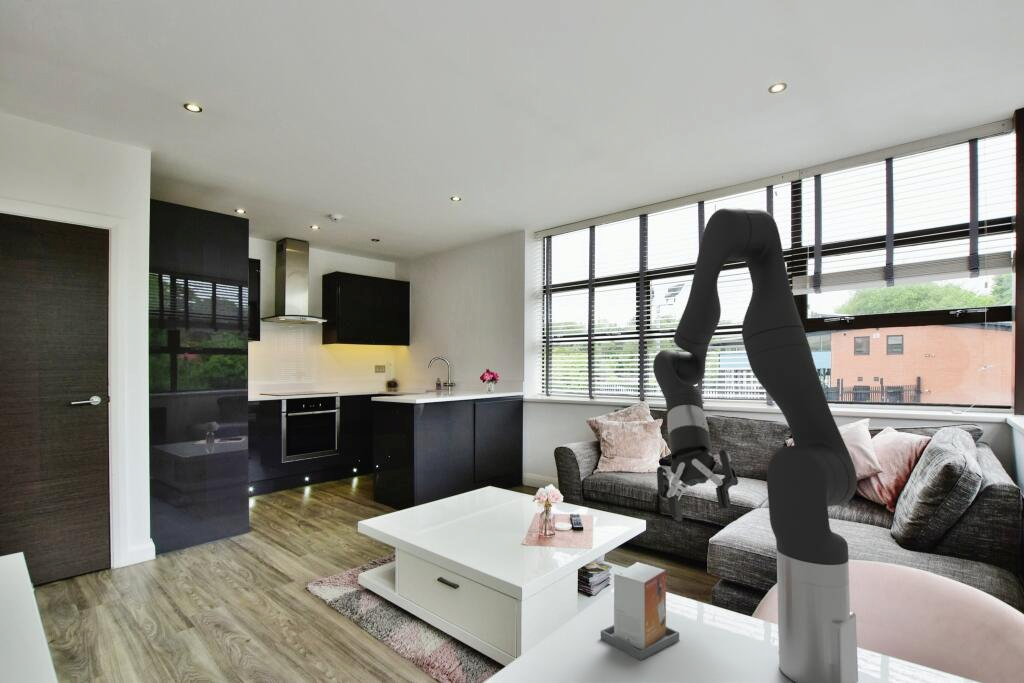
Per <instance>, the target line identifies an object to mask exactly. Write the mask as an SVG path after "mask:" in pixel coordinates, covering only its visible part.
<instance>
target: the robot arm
mask: <svg viewBox="0 0 1024 683" xmlns="http://www.w3.org/2000/svg"><path fill="white" fill-rule="evenodd" d="M728 261H731V262H732V261H733V262H745V264H746V266H747V268H748V272H749V276H750V281H751V287H752V291H751V293H752V294H751V297H750V301H749V303H748V305H747V309H746V312H745V314H744V318H743V322H742V326H741V336H742V337H741V338H742V341H743V346H744V349H745V353H746V358H747V360H748V363H749V367H750V369H751V372H752V373H753V375H754V376H755V378H756V379H757V381H758V382H759V384H760V385H761V386H762V388H763V390H765V392H766V393H767V395H769V396H770V398H771V399H772V400H773V401H774V403H775V404H776V406H778V408H779V409H780V411H781V413H782V414H783V416H784V418H785V420H786V422H787V426H788V429H789V432H790V435H791V437H792V441H793V445H786V446H783V447H780V448H778V449H776V450H775V451H774V452H773V453H772V454H771V456H770V459H769V461H768V464H767V471H766V487H767V489H766V490H767V500H768V503H767V504H768V514H769V524H770V526H771V531H772V534H773V535H774V537H775V541H776V542H775V544H776V545H775V546H776V574H777V575H776V576H777V577H776V582H777V584H776V586H777V587H776V588H777V624H778V625H777V629H778V631H777V632H778V633H777V634H778V666H779V669H780V670H781V672H782V673H783V674H784V675H785V677H788V679H790V680H791V681H793V682H795V683H857V682H858V683H859V669H858V667H859V664H858V662H859V661H858V641H857V640H858V639H857V638H858V637H857V614H855V613H856V612H855V613H854V612H853V611H851V594H850V566H849V557H850V556H849V545H848V542H847V540H846V539H845V538H844V537H843V536H841V535H840V534H838V533H836V532H833V531H832V529H831V526H830V516H829V509H828V508H829V507H834V506H840V505H844V504H845V503H848V502H849V501H850V500H851V499H852V498H853V497H854V495H855V493H856V490H857V487H858V476H857V471H856V468H855V467H856V466H855V464H854V461H853V458H852V457H851V453H850V452H849V450H848V447H847V444H846V443H845V440H844V438H843V436H842V434H841V432H840V429H839V428H838V425H837V423H836V421H835V418H834V416H833V413H832V411H831V409H830V406H829V402H828V400H827V397H826V394H825V390H824V388H823V385H822V382H821V379H820V376H819V373H818V370H817V368H816V364H815V361H814V358H813V353H812V350H811V346H810V343H809V340H808V336H807V334H806V331H805V327H804V325H803V322H802V319H801V317H800V314H799V311H798V308H797V304H796V301H795V298H794V295H793V290H792V287H791V284H790V279H789V275H788V272H787V266H786V262H785V256H784V251H783V245H782V241H781V236H780V232H779V228H778V226H777V222H776V220H775V219H774V217H773V215H772V214H771V213H769V212H768V211H766V210H764V209H758V208H744V207H743V208H741V207H723V208H720V209H718V210H716V211H714V213H713V214H712V215H711V216H710V217H709V219H708V220H707V223H706V226H705V227H704V230H703V234H702V238H701V241H700V244H699V250H698V254H697V258H696V263H695V268H694V272H693V277H692V281H691V282H692V283H691V287H690V292H689V296H688V299H687V302H686V304H685V308H684V310H683V312H682V314H681V318H680V320H679V323H677V324H678V325H677V327H676V330H675V332H674V336H673V341H674V344H675V345H676V346H677V347H678V348H679V349H681V350H683V351H679V350H673V349H663V350H660V351H659V352H658V353H657V354H656V356H655V357H654V360H653V362H652V363H653V366H652V367H653V368H652V369H653V374H654V377H655V380H656V382H657V384H658V387H659V389H660V390H661V392H662V395H663V397H664V400H665V404H666V405H665V407H666V413H667V433H668V441H669V450H670V456H671V461H672V462H671V466H668V467H662V466H658V467H657V468H656V477H657V479H656V481H657V495H658V496H659V497H660V498H661V499H663V500H664V501H666V502H668V507H669V515H670V516H671V517H672V518H673V519H674V520H675V521H676V522H682V521H683V512H682V504H681V501H680V499H681V498H682V495H683V493H686V491H687V489H688V487H689V486H690V487H693V486H696V485H698V484H706V483H707V481H709V480H710V481H711V482H712V483H714V484H715V485H716V487H715V493H716V498H717V504H718V508H719V510H720V511H722V512H723V513H728V512H729V509H730V508H731V505H732V504H731V500H730V499H731V498H730V495H729V493H730V492H729V489H730V488H731V487H733V486H738V484H739V479H738V476H737V472H736V469H735V465H734V462H733V458H732V455H731V454H729V453H728V452H727V451H726V450H725V449H720V450H719V451H718V452H719V453H715V454H713V449H712V448H713V446H712V441H711V436H710V427H709V425H708V420H707V418H706V415H705V411H704V410H705V409H704V404H703V399H702V395H701V392H700V390H699V389H698V388H697V387H696V385H697V384H699V383H700V382H702V380H703V379H704V376H705V372H706V360H707V354H708V349H709V346H710V343H711V341H712V339H713V336H714V334H715V332H716V330H717V328H718V325H719V322H720V321H721V320H720V319H721V311H722V310H721V307H722V306H721V301H720V296H719V290H718V281H719V280H718V279H719V277H720V275H721V274H720V273H721V271H722V269H723V267H724V265H725V264H726V263H727V262H728ZM717 463H718V464H719V465H721V466H722V471H723V476H724V477H723V478H720V477H719V476H718V475H717V474H715V473H714V469H715V467H716V465H717ZM672 475H673V478H672ZM671 479H672V480H671ZM670 480H671V481H670Z"/></svg>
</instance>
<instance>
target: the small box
mask: <svg viewBox="0 0 1024 683" xmlns="http://www.w3.org/2000/svg"><path fill="white" fill-rule="evenodd" d="M666 577H667V572H666V569H663V568H660V567H656V566H654V565H653V566H652V565H649V564H646V563H642V562H638V561H637V562H634V563H633V564H632V565H630V566H628V567H627V568H624V569H622V570H621V571H620V570H619V571H618V572H615V573H614V574H613V580H614V581H613V588H614V589H613V603H614V604H613V625H614V637H616V638H618V639H620V640H621V641H623V642H625V643H627V644H629V645H631V646H633V647H635V648H638V649H640V650H643V649H645V648H646V647H648V646H650V645H652V644H653V643H655V642H656V641H657V640H658V639H660V638H661V637H662V636H664V635H665V634H666V627H667V622H666V621H667V598H666V597H667V594H666V593H667V591H666V590H667V589H666V588H667V586H666V584H667V581H666V580H667V578H666Z"/></svg>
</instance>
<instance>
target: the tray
mask: <svg viewBox="0 0 1024 683" xmlns="http://www.w3.org/2000/svg"><path fill="white" fill-rule="evenodd" d="M600 639H601V640H604V641H605V642H607V643H609V644H610V645H613V646H614V647H615V648H617V649H620V650H621V651H623V652H625V653H627V654H628V655H629V656H632V657H634V658H635V659H638V660H639V661H642V660H644V659H646V658H648V657H650V656H652V655H654V654H656V653H657V652H659V651H662V650H663V649H665V648H668V647H669V646H670V645H673V644H675V643H676V642H678V641H680V632H679V631H676V630H674V629H672V628H670V627H669V626H666V634H665V635H664V636H662V637H661V638H660V639H658V640H657V641H656V642H655V643H653V644H652V645H650V646H648V647H646V648H645V649H643V650H640V649H638V648H635V647H633V646H631V645H629V644H627V643H625V642H623V641H621V640H620V639H618V638H616V637H614V624H612V625H611V626H608V627H606V628H603V629H602V630H601V629H600Z"/></svg>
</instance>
